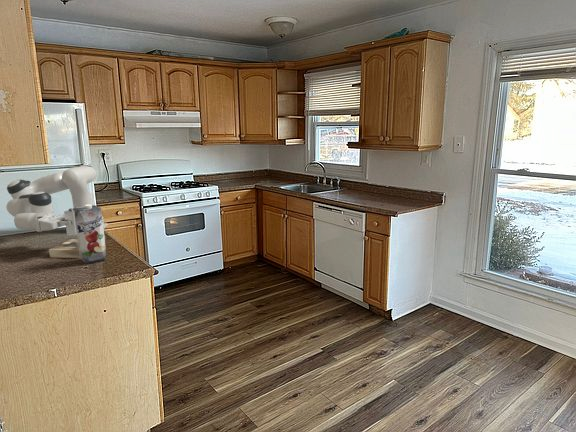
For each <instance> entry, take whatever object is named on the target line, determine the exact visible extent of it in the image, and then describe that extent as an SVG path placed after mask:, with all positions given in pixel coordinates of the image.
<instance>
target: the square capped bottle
mask: <svg viewBox="0 0 576 432" xmlns="http://www.w3.org/2000/svg"><path fill="white" fill-rule="evenodd" d="M63 214H64V215H65V221H71V223H72V224H71V225H65V229H66V230H65V231H66V236H71V237H72V236H76V237H77V232H76V224H75V212H74V210H73V208H72V207H71V208H68V210H66V211H63Z"/></svg>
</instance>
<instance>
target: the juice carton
mask: <svg viewBox="0 0 576 432" xmlns="http://www.w3.org/2000/svg"><path fill="white" fill-rule="evenodd" d="M101 210H102V208H101V207H100V206H98V205H96V204H95V205H94V204H93V205H90V204H88V205H85V207H76V208H74V212H75V224H76V232H77V235H76V237H77V239H76V240H78V247H79V254H80V257H81V258H80V259H81V261H82V262H83V263H84V264H85V265H89V264H95V263H99V262H102V261H103V262H104V261H105V260H106V256H107V255H106V254H107V251H106V250H107V249H106V238H105V239H104V231H105V229H104V230H103V222H104V220H103V221H102V216H103V215H102V211H101Z"/></svg>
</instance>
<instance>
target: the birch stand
mask: <svg viewBox="0 0 576 432" xmlns="http://www.w3.org/2000/svg"><path fill="white" fill-rule="evenodd" d="M48 252H49V258H61V259H62V258H63V259H64V258H67V259H68V258H71V259H72V258H74V259H79V258H80V259H81V257H80V254H79V247H78V240H77V239H73V238H71V239H68V240H66V241H64V242H62V243H60V244H58V245H56V246H53V247H52V248H49V249H48Z"/></svg>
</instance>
